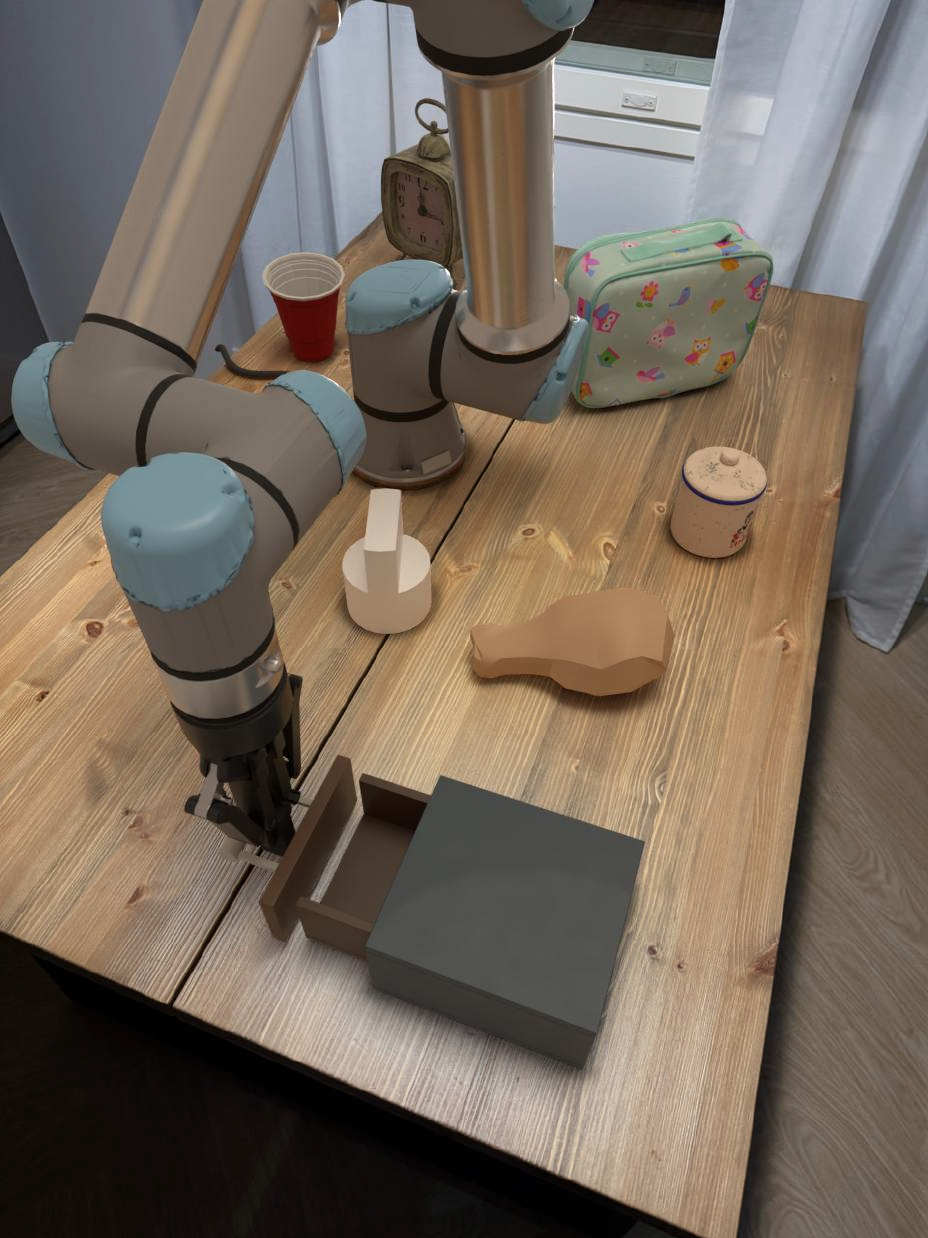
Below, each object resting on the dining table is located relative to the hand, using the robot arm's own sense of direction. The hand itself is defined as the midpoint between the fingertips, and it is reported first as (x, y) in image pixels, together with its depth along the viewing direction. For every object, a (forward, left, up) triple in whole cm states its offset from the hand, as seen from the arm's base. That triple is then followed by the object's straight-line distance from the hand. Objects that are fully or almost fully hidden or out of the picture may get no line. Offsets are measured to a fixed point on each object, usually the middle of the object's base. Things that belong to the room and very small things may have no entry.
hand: (280, 847), depth 74 cm
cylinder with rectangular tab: (-13, +27, -2) cm, 30 cm away
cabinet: (+19, +7, -2) cm, 20 cm away
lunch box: (-14, +80, -2) cm, 82 cm away
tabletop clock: (-56, +84, -2) cm, 101 cm away
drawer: (+7, +3, -1) cm, 8 cm away
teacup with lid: (+7, +60, -2) cm, 61 cm away
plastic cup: (-54, +55, -2) cm, 77 cm away
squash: (+7, +32, -2) cm, 33 cm away
